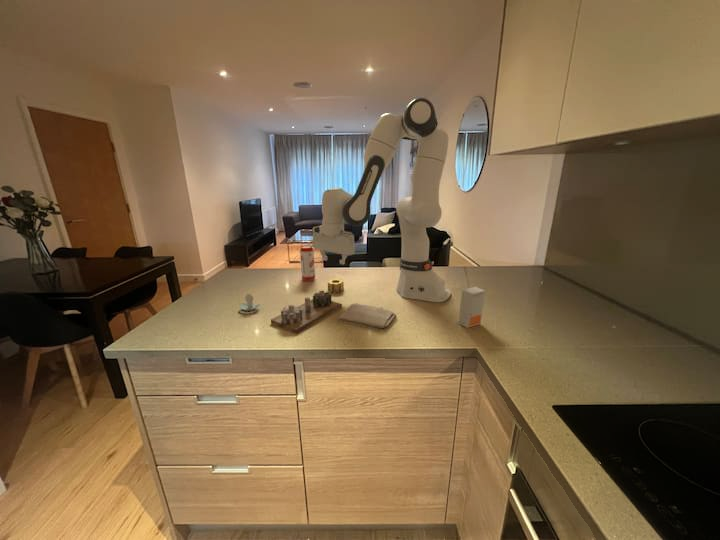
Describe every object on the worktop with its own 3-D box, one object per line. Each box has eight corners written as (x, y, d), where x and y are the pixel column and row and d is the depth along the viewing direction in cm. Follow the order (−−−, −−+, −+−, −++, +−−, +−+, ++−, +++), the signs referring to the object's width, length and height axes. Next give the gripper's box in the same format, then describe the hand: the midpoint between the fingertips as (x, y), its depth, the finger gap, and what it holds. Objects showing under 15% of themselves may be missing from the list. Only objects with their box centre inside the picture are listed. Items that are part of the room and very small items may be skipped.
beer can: (316, 277, 142) (314, 245, 137) (313, 281, 136) (311, 248, 131) (304, 276, 142) (301, 245, 138) (300, 281, 136) (297, 248, 132)
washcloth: (386, 333, 91) (386, 325, 90) (336, 323, 98) (335, 314, 97) (397, 317, 101) (397, 309, 100) (351, 309, 108) (351, 301, 107)
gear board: (341, 307, 108) (341, 291, 106) (296, 333, 90) (294, 314, 88) (317, 300, 115) (317, 285, 113) (271, 323, 97) (269, 305, 95)
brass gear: (346, 289, 126) (346, 280, 125) (337, 294, 121) (336, 285, 120) (334, 286, 130) (334, 277, 128) (324, 291, 124) (324, 282, 123)
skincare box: (467, 328, 93) (472, 294, 89) (457, 323, 96) (461, 289, 93) (481, 324, 95) (485, 290, 92) (471, 319, 99) (475, 286, 95)
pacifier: (253, 315, 103) (262, 308, 108) (251, 299, 101) (260, 293, 106) (235, 314, 104) (244, 306, 110) (232, 298, 102) (242, 291, 108)
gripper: (358, 231, 114) (358, 264, 118) (319, 226, 125) (320, 256, 129) (349, 233, 109) (348, 268, 113) (309, 227, 120) (310, 259, 124)
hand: (333, 262), depth 121 cm, fingers open, 8 cm apart
